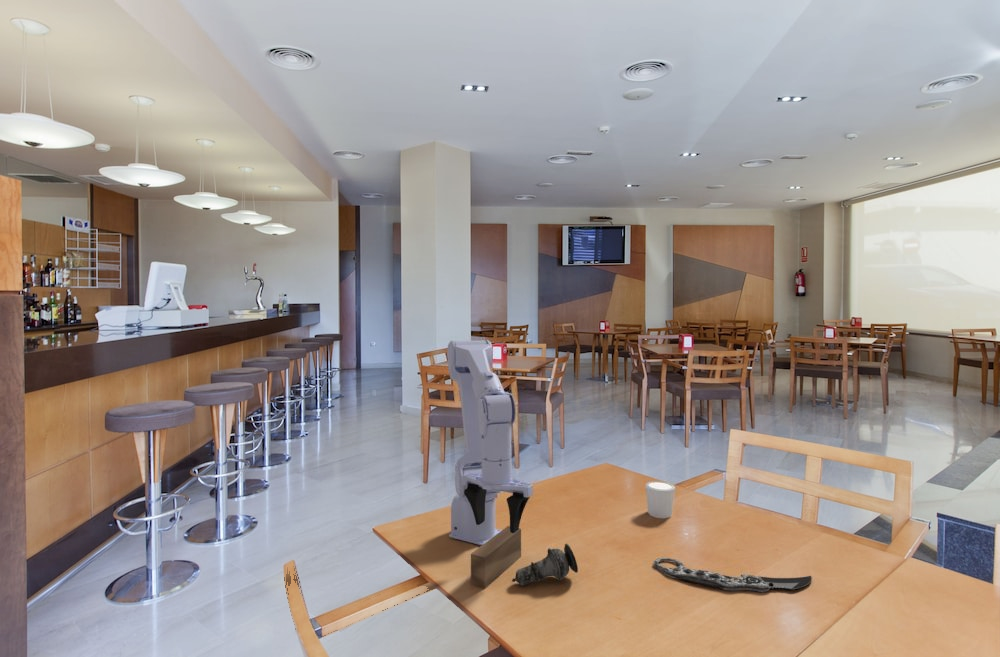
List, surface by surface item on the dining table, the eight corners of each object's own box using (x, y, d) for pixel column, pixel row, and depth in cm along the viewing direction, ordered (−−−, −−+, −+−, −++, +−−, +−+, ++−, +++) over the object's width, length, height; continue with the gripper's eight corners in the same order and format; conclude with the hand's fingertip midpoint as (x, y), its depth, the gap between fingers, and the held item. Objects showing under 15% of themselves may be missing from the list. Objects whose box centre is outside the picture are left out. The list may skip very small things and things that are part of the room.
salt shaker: (581, 579, 97) (520, 604, 94) (569, 565, 103) (511, 588, 100) (573, 549, 97) (512, 573, 94) (562, 537, 103) (503, 559, 100)
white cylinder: (651, 506, 135) (651, 478, 135) (678, 512, 131) (678, 484, 130) (641, 515, 129) (641, 486, 129) (669, 521, 125) (669, 492, 125)
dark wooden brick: (470, 585, 98) (470, 553, 98) (508, 554, 110) (508, 525, 110) (484, 590, 96) (484, 557, 96) (521, 557, 108) (521, 528, 108)
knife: (811, 572, 100) (826, 597, 90) (811, 580, 100) (826, 606, 90) (653, 553, 108) (652, 574, 99) (653, 560, 108) (652, 582, 99)
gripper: (453, 457, 102) (454, 526, 103) (520, 468, 95) (520, 543, 96) (473, 448, 108) (473, 514, 109) (537, 458, 101) (538, 528, 102)
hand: (497, 526), depth 103 cm, fingers open, 7 cm apart
